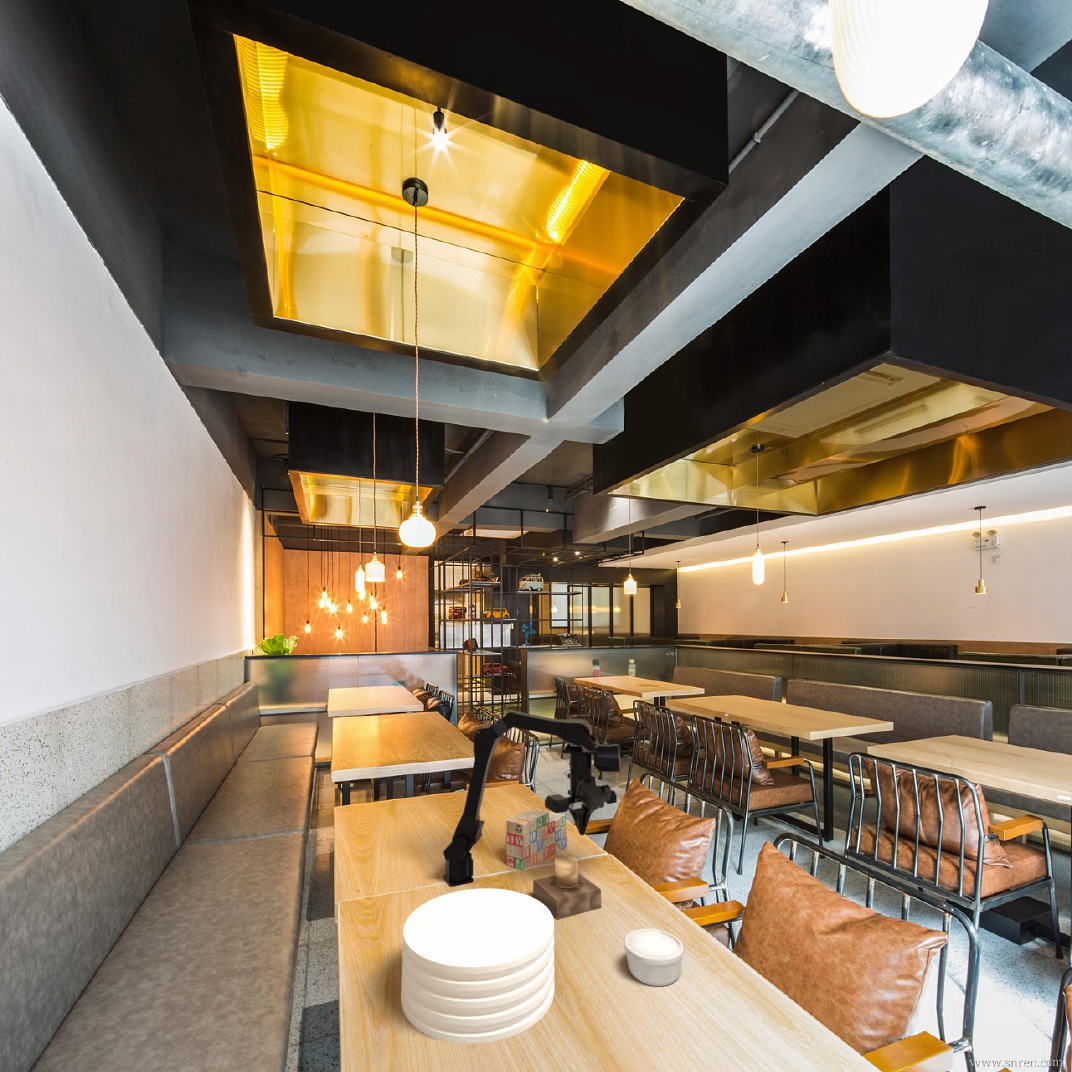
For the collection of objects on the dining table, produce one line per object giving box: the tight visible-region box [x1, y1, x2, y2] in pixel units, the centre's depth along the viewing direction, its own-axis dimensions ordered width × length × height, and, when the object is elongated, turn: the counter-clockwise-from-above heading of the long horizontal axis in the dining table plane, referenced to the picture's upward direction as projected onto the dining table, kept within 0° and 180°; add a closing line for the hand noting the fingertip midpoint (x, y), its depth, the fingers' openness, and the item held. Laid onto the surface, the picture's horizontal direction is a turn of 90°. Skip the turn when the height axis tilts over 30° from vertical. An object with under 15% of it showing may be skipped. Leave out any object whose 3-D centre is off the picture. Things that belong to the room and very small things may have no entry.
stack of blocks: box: [505, 808, 568, 872], centre depth 168 cm, size 21×6×12 cm, turn 143°
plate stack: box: [400, 887, 555, 1045], centre depth 107 cm, size 28×28×12 cm
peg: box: [554, 855, 579, 890], centre depth 140 cm, size 6×6×9 cm
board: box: [532, 872, 602, 920], centre depth 139 cm, size 12×12×4 cm
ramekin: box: [623, 928, 685, 987], centre depth 111 cm, size 11×11×5 cm
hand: (581, 834), depth 147 cm, fingers closed
